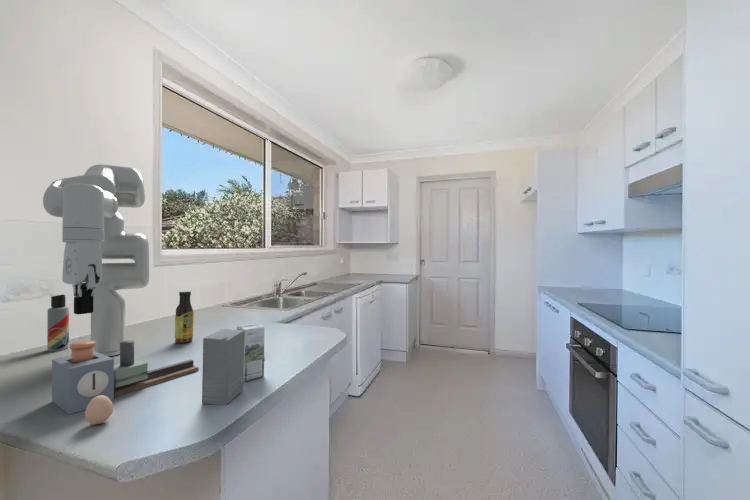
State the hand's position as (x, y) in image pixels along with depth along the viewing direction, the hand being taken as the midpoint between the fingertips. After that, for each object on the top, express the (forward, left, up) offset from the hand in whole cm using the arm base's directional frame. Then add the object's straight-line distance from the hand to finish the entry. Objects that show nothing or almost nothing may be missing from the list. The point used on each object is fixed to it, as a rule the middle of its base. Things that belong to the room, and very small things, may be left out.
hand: (83, 313), depth 79 cm
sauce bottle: (-33, +41, -21) cm, 57 cm away
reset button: (0, 0, -11) cm, 11 cm away
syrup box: (+21, +31, -21) cm, 43 cm away
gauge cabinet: (0, 0, -21) cm, 21 cm away
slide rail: (0, +15, -21) cm, 26 cm away
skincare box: (+27, +19, -21) cm, 39 cm away
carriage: (0, +9, -19) cm, 21 cm away
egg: (+16, -2, -21) cm, 26 cm away
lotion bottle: (-62, +11, -21) cm, 67 cm away
